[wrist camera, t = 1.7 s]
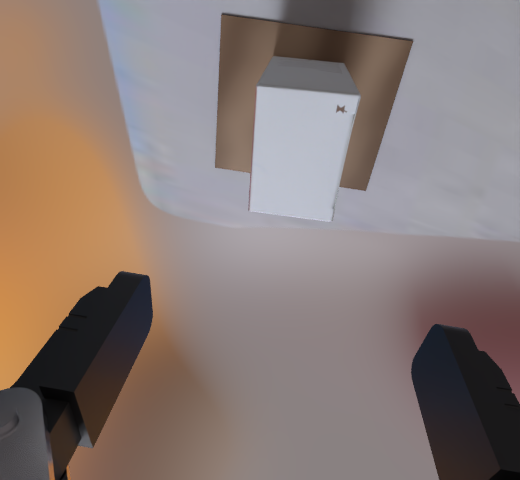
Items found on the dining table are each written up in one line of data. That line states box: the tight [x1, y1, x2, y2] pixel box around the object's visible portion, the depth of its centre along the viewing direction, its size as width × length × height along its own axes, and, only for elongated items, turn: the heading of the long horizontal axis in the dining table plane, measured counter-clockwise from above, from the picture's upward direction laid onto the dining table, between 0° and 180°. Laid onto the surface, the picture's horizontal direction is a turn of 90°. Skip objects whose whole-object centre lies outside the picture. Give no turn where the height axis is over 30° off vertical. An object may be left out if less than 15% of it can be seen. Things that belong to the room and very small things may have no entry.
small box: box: [248, 56, 361, 222], centre depth 25 cm, size 8×6×10 cm
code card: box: [215, 15, 413, 191], centre depth 29 cm, size 14×12×1 cm
